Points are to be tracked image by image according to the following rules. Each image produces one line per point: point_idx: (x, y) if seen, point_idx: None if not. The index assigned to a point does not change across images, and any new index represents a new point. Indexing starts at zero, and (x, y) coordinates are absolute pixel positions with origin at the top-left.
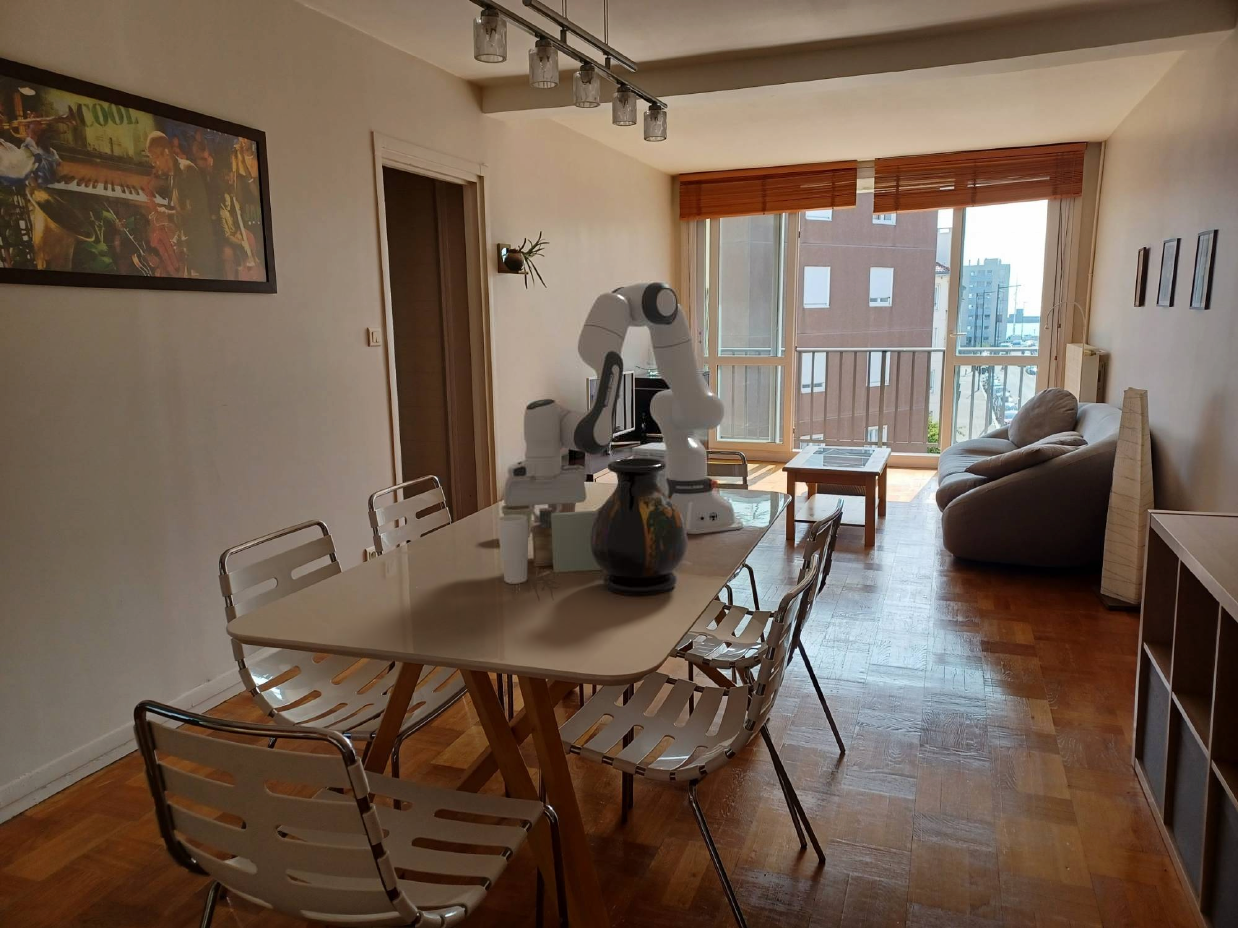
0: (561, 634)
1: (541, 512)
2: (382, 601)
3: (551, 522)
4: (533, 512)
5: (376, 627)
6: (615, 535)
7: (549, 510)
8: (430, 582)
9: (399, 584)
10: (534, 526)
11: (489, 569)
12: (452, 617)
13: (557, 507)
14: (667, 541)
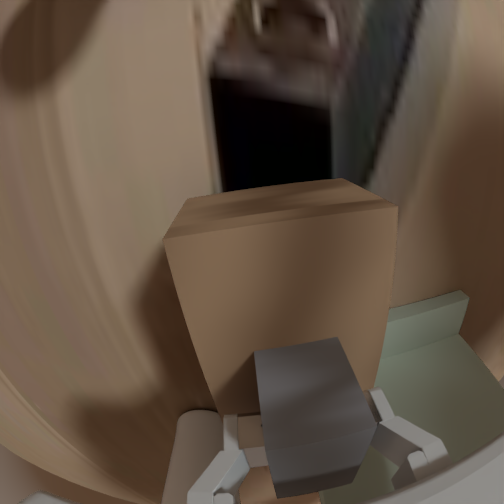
0: (294, 501)
1: (286, 495)
2: (43, 436)
3: (323, 497)
4: (231, 490)
5: (98, 481)
6: None
7: (342, 472)
8: (39, 393)
9: (6, 387)
10: (225, 395)
11: (100, 345)
12: (162, 486)
13: (396, 477)
14: None
